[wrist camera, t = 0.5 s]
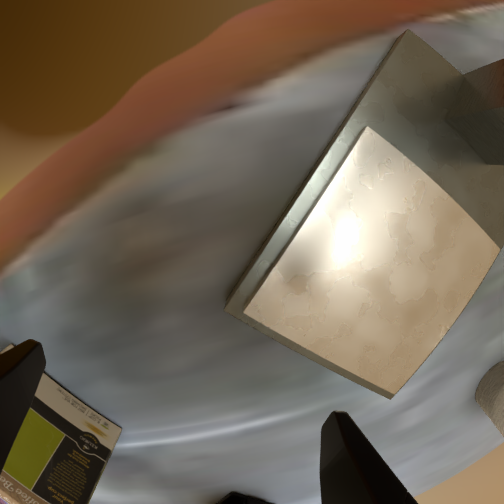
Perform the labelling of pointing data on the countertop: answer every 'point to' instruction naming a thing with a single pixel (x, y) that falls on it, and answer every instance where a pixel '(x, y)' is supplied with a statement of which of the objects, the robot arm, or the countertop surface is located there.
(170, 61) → the countertop surface
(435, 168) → the arbor press
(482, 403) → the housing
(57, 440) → the tea box
